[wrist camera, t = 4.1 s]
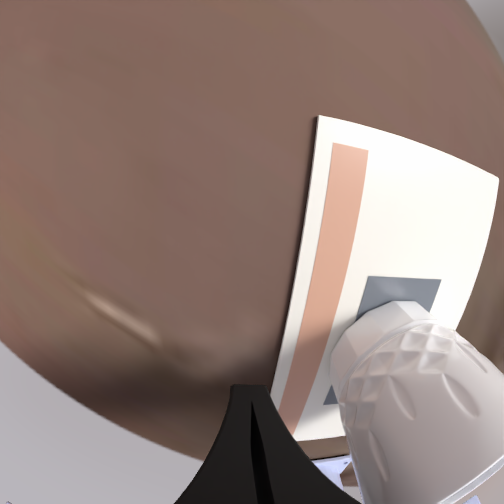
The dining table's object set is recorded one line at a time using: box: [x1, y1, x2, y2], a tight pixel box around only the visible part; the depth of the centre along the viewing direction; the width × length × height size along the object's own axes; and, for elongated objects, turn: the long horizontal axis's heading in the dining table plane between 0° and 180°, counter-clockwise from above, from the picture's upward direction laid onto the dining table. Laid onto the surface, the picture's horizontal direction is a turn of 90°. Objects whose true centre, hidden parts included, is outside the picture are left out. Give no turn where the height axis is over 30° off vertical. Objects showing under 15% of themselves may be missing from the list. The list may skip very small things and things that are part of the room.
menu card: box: [270, 115, 499, 441], centre depth 13 cm, size 20×12×1 cm, turn 174°
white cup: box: [329, 301, 504, 504], centre depth 9 cm, size 8×8×10 cm
